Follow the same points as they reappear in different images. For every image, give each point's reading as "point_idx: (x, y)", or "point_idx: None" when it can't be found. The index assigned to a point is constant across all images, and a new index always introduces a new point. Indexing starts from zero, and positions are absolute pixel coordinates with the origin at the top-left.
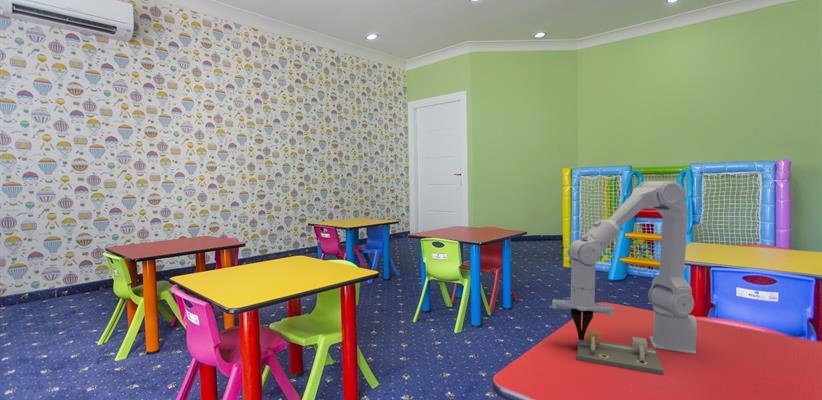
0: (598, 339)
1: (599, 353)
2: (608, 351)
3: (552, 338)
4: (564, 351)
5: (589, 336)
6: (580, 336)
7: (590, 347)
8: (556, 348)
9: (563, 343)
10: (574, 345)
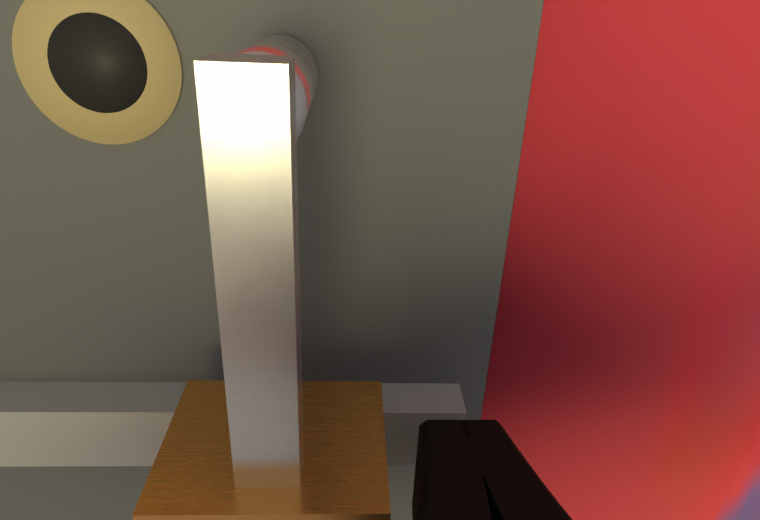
0: (182, 439)
1: (183, 161)
2: (70, 296)
3: (717, 506)
4: (658, 198)
5: (336, 461)
6: (486, 451)
7: (322, 340)
8: (745, 256)
9: (621, 429)
10: (501, 423)
